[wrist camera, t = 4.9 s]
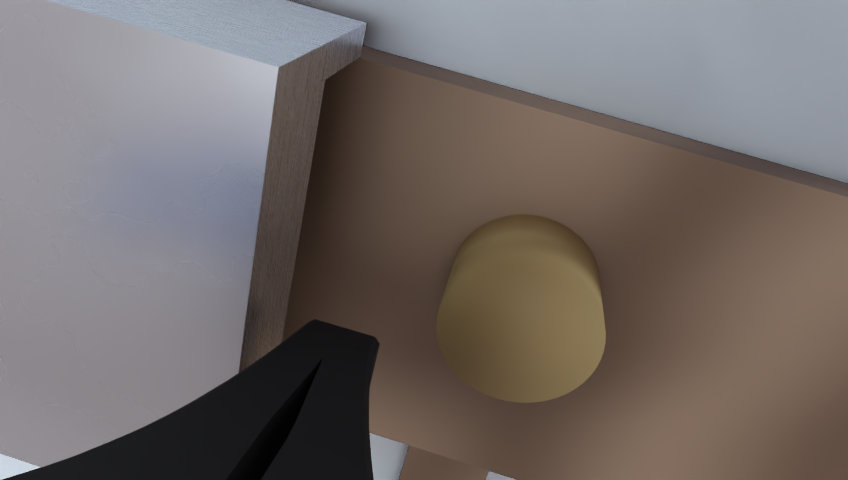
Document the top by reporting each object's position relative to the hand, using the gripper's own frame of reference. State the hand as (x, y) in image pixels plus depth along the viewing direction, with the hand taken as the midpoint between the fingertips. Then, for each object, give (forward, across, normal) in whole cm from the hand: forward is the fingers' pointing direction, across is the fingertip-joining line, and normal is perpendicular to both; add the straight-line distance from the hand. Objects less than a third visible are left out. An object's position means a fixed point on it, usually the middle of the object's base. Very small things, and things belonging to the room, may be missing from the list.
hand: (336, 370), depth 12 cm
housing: (+2, +5, -2) cm, 5 cm away
